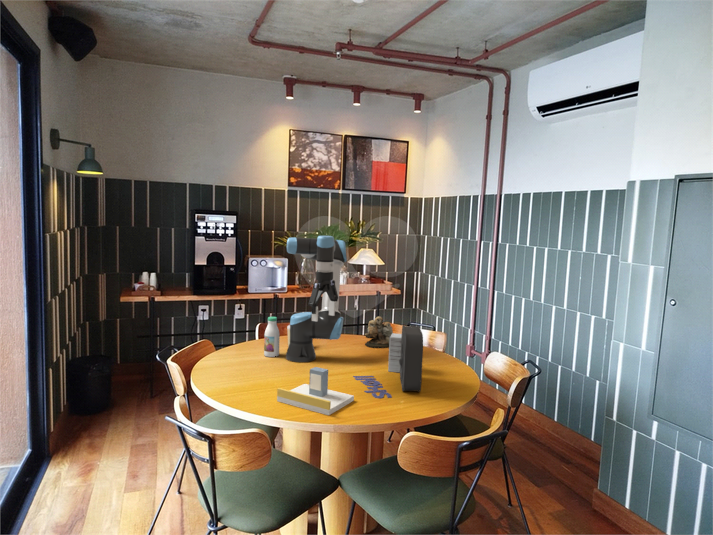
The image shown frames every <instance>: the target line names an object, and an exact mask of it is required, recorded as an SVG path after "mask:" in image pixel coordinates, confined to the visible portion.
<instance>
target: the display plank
mask: <svg viewBox="0 0 713 535" xmlns="http://www.w3.org/2000/svg"><path fill="white" fill-rule="evenodd" d="M276 392H277V394H276V401H277V402H279V403H283V404H287V405H291V406H293V407H297V408H301V409H304V410H307V411H311V412H315V413H318V414H319V413H320V414H323V415H326V416H330V415H332V414H334V413H335V412H337V411H339V410H340V409H342V408H344V407H345V406H348V405H349V404H351V403H352V402H354V400H355V396H354V394H353V395H352V394H348V393H344V392H340V391H336V390H331V389H328V392H327V395H325V396H323V397H319V396H315V395H311V394H309V383H308V384H307V383H303V384H301V385H299V386H297V387H295V388H292V389H290V390H289V389H285V388H281V387H278V388H277V389H276Z"/></svg>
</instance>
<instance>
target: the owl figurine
mask: <svg viewBox="0 0 713 535" xmlns="http://www.w3.org/2000/svg"><path fill="white" fill-rule="evenodd" d="M383 319H384V318H383V317H382V316H376V317H375V318H374V319H372V320H369V321H368V327H367V332H366V333H364V336H365V338H366V339H370V340H367V341H366V342H364V345H365V346H366V347H367V348H373V349H389V340H390V336H391V335H392V333H394V332H393V326H391V323H390V321H385V322H383Z"/></svg>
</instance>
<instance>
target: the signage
mask: <svg viewBox="0 0 713 535" xmlns="http://www.w3.org/2000/svg"><path fill="white" fill-rule="evenodd" d="M352 377H353V378H354V380H356V381H360V383H362V384H363V385H364V386H366V388H367V390H364V391H363V392H364V393H367V394H371V396H372V397H373V398H375V399H384V395H385V396H386V398H387V399H391V398H392V394H390V393H389V392H388V391H387V389H383V388H384V386H383V384H382V383H380V382H381V381H379V380H377V378H375V376H374V375H353V376H352ZM377 393H379V395H378V394H377Z"/></svg>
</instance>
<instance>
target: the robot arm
mask: <svg viewBox="0 0 713 535" xmlns="http://www.w3.org/2000/svg"><path fill="white" fill-rule="evenodd" d="M286 240H287V241H286V252H287V253H288V254H292V255H300V256H301V257H302V258H305V259H307V260H312V261H316V266H315V269H316V272H315V279H316V281H317V283H316V282H314V283H313V285H312V291H311V294H310V297H309V301H308V306H309V307H311V312H310V311H303V312H298V313H294V314H292V315H291V316H290V321H289V325H290V344H289V347H288V346H287V350H286V353H285V359H286V360H287V361H289V360H290V361H289V362H295V363H308V362H312V361H315V360H316V352H315V347H314V344H313V342H314V340H315V339H316V340H329V341H331V340H338V339H340V338H341V335H342V332H343V326H344V317H343V316H342V313H341V312H340V311H339V304H340V286H341V269H342V268H343V266H344V265H345V263H346V262H347V261H348V259H347V249H346V242H345V241H344V240H340V239H335V237H334V236H332V235H318V236H317V238H314V237H311V238H308V237H288V238H287V239H286ZM321 299H322V300H321ZM320 300H321V309H320V310H319V306H318V304H319V302H320Z"/></svg>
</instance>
